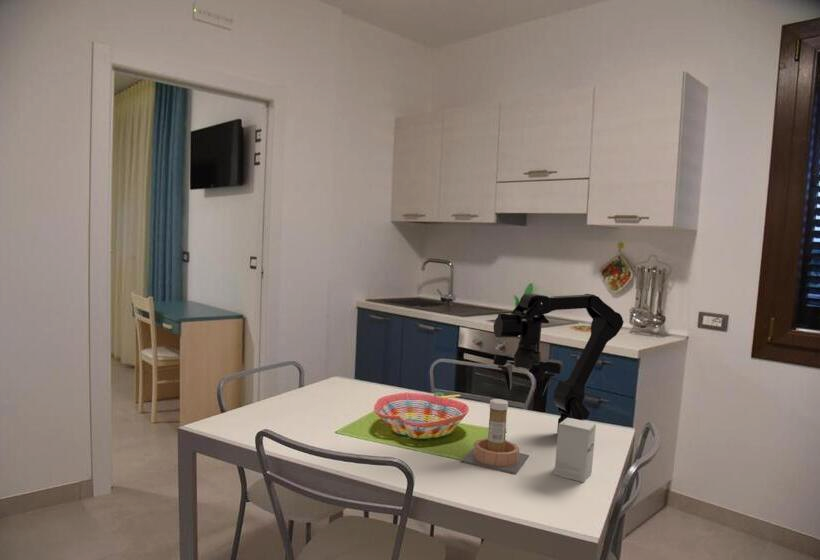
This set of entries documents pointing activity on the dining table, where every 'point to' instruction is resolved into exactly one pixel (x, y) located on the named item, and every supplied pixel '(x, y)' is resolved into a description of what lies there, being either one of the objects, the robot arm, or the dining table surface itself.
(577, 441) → the supplement box
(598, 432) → the dining table surface
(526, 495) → the dining table surface
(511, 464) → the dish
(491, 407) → the sprinkles bottle
